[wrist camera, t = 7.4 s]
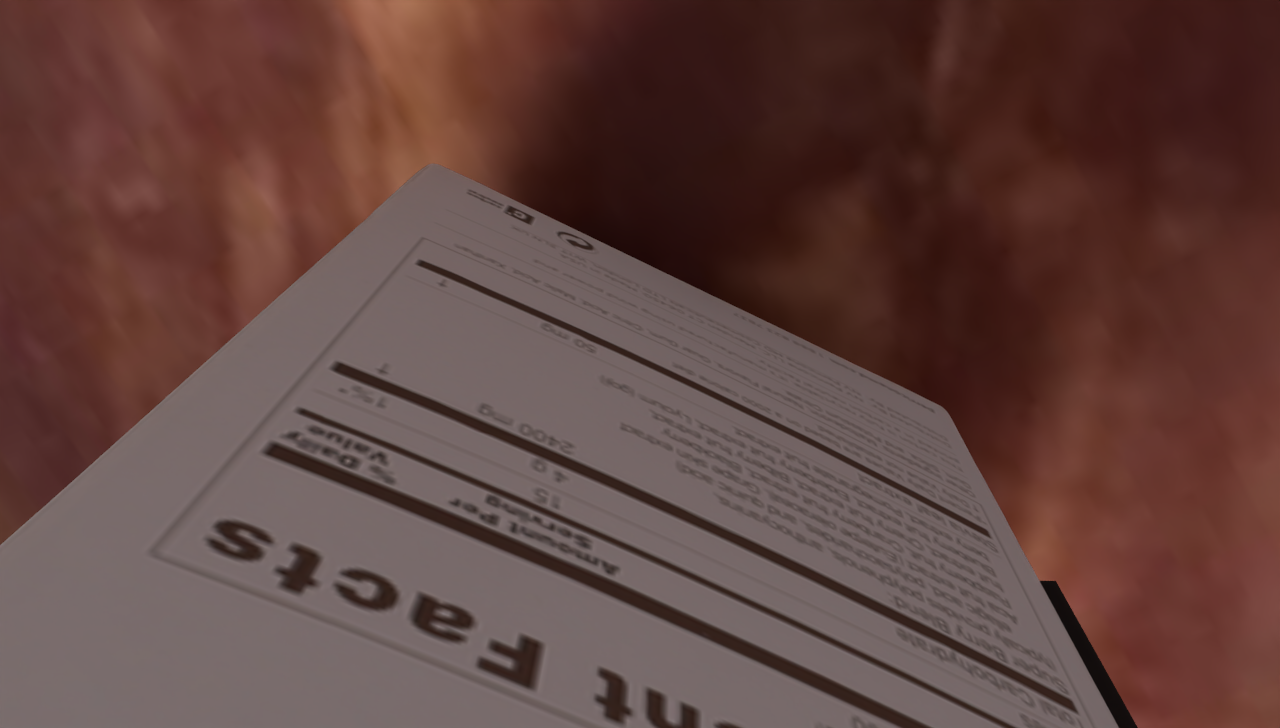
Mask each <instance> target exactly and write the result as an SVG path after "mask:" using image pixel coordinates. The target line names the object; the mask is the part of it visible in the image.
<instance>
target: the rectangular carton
mask: <svg viewBox="0 0 1280 728" xmlns="http://www.w3.org/2000/svg"><path fill="white" fill-rule="evenodd" d="M0 728H1119V727H1118V725H1117V723H1116V722H1115V720H1114V718H1113V716H1112V714H1111V712H1110V711H1109V709H1108V707H1107V705H1106V703H1105V701H1104V699H1103V698H1102V696H1101V694H1100V692H1099V690H1098V688H1097V687H1096V685H1095V683H1094V681H1093V679H1092V677H1091V676H1090V674H1089V672H1088V670H1087V668H1086V666H1085V664H1084V663H1083V661H1082V659H1081V657H1080V655H1079V653H1078V651H1077V650H1076V648H1075V646H1074V644H1073V642H1072V640H1071V638H1070V637H1069V635H1068V633H1067V631H1066V629H1065V627H1064V626H1063V624H1062V622H1061V620H1060V618H1059V616H1058V614H1057V613H1056V611H1055V609H1054V607H1053V605H1052V603H1051V601H1050V600H1049V598H1048V596H1047V594H1046V592H1045V590H1044V588H1043V587H1042V585H1041V583H1040V581H1039V579H1038V578H1037V576H1036V574H1035V572H1034V570H1033V569H1032V567H1031V565H1030V563H1029V561H1028V560H1027V558H1026V556H1025V554H1024V552H1023V551H1022V549H1021V547H1020V545H1019V543H1018V541H1017V539H1016V537H1015V536H1014V534H1013V532H1012V530H1011V528H1010V526H1009V524H1008V522H1007V521H1006V519H1005V517H1004V515H1003V513H1002V511H1001V509H1000V507H999V506H998V504H997V502H996V500H995V498H994V496H993V495H992V493H991V491H990V489H989V487H988V485H987V484H986V482H985V480H984V478H983V476H982V475H981V473H980V471H979V469H978V468H977V466H976V464H975V462H974V460H973V458H972V456H971V455H970V453H969V451H968V449H967V447H966V445H965V443H964V441H963V439H962V438H961V436H960V434H959V432H958V430H957V428H956V426H955V424H954V422H953V421H952V419H951V417H950V415H949V414H948V412H947V411H946V410H945V409H944V408H943V407H942V406H940V405H938V404H936V403H934V402H932V401H930V400H928V399H926V398H924V397H922V396H920V395H918V394H916V393H914V392H911V391H909V390H907V389H905V388H903V387H901V386H899V385H897V384H895V383H893V382H891V381H889V380H887V379H885V378H883V377H880V376H878V375H876V374H874V373H872V372H870V371H868V370H866V369H864V368H861V367H859V366H857V365H855V364H853V363H851V362H849V361H847V360H845V359H843V358H841V357H839V356H837V355H835V354H833V353H831V352H828V351H826V350H824V349H822V348H820V347H818V346H816V345H814V344H812V343H810V342H808V341H806V340H804V339H802V338H800V337H798V336H796V335H793V334H791V333H789V332H787V331H785V330H783V329H781V328H779V327H777V326H775V325H773V324H771V323H768V322H766V321H764V320H762V319H760V318H758V317H756V316H754V315H752V314H750V313H748V312H746V311H743V310H741V309H739V308H737V307H735V306H733V305H731V304H729V303H727V302H725V301H723V300H721V299H718V298H716V297H714V296H712V295H710V294H708V293H706V292H704V291H702V290H700V289H698V288H695V287H693V286H691V285H689V284H687V283H685V282H683V281H681V280H679V279H677V278H675V277H673V276H671V275H669V274H666V273H664V272H662V271H660V270H658V269H656V268H654V267H652V266H650V265H648V264H646V263H644V262H642V261H639V260H637V259H635V258H633V257H631V256H629V255H627V254H625V253H623V252H621V251H619V250H617V249H615V248H613V247H610V246H608V245H606V244H604V243H602V242H600V241H598V240H596V239H594V238H592V237H590V236H588V235H586V234H583V233H581V232H579V231H577V230H575V229H573V228H571V227H569V226H567V225H565V224H563V223H561V222H559V221H557V220H554V219H552V218H550V217H548V216H546V215H544V214H542V213H540V212H538V211H536V210H534V209H532V208H530V207H527V206H525V205H523V204H521V203H519V202H517V201H515V200H513V199H511V198H509V197H507V196H505V195H503V194H501V193H499V192H497V191H495V190H493V189H491V188H489V187H487V186H485V185H482V184H480V183H478V182H476V181H474V180H472V179H469V178H467V177H465V176H463V175H461V174H458V173H456V172H454V171H452V170H450V169H447V168H445V167H443V166H441V165H439V164H429V165H427V166H425V167H424V168H423V169H421V170H420V171H418V172H417V173H416V174H415V175H414V176H413V177H411V178H410V179H409V180H408V181H407V182H406V183H405V184H404V185H402V186H401V187H400V188H399V189H398V190H397V191H396V192H395V193H394V194H392V195H391V196H390V197H389V198H388V199H387V200H386V201H385V202H384V203H383V204H382V205H380V206H379V207H378V208H377V209H376V210H375V211H374V212H373V213H372V214H371V215H370V216H369V217H368V218H367V219H366V220H365V221H363V222H362V223H361V224H360V225H359V226H358V227H357V228H356V229H354V230H353V231H352V232H351V233H350V234H349V235H348V236H347V237H345V238H344V239H343V240H342V241H341V242H340V243H339V244H338V245H336V246H335V247H334V248H333V249H332V250H331V251H330V252H328V253H327V254H326V255H325V256H324V257H323V258H322V259H321V260H319V261H318V262H317V263H316V264H315V265H314V266H313V267H312V268H310V269H309V270H308V271H307V272H306V273H305V274H304V275H303V276H301V277H300V278H299V279H298V280H297V281H296V282H295V283H294V284H292V285H291V286H290V287H289V288H288V289H287V290H286V291H285V292H283V293H282V294H281V295H280V296H279V297H278V298H277V299H276V300H274V301H273V302H272V303H271V304H270V305H269V306H268V307H267V308H265V309H264V310H263V311H262V312H261V313H260V314H259V315H258V316H257V317H255V318H254V319H253V320H252V321H251V322H250V323H249V324H248V325H247V326H245V327H244V328H243V329H242V330H241V331H240V332H239V333H238V334H236V335H235V336H234V337H233V338H232V339H231V340H230V341H229V342H228V343H226V344H225V345H224V346H223V347H222V348H221V349H220V350H219V351H217V352H216V353H215V354H214V355H213V356H212V357H211V358H210V359H209V360H207V361H206V362H205V363H204V364H203V365H202V366H201V367H200V368H198V369H197V370H196V371H195V372H194V373H193V374H192V375H191V376H190V377H188V378H187V379H186V380H185V381H184V382H183V383H182V384H181V385H180V386H178V387H177V388H176V389H175V390H174V391H173V392H172V393H171V394H169V395H168V396H167V397H166V398H165V399H164V400H163V401H162V402H161V403H159V404H158V405H157V406H156V407H155V408H154V409H153V410H152V411H150V412H149V413H148V414H147V415H146V416H145V417H144V418H143V419H142V420H140V421H139V422H138V423H137V424H136V425H135V426H134V427H133V428H131V429H130V430H129V431H128V432H127V433H126V434H125V435H124V436H123V437H121V438H120V439H119V440H118V441H117V442H116V443H115V444H114V445H113V446H111V447H110V448H109V449H108V450H107V451H106V452H105V453H104V454H102V455H101V456H100V457H99V458H98V459H97V460H96V461H95V462H94V463H92V464H91V465H90V466H89V467H88V468H87V469H86V470H85V471H83V472H82V473H81V474H80V475H79V476H78V477H77V478H76V479H75V480H73V481H72V482H71V483H70V484H69V485H68V486H67V487H66V488H64V489H63V490H62V491H61V492H60V493H59V494H58V495H57V496H56V497H54V498H53V499H52V500H51V501H50V502H49V503H48V504H47V505H45V506H44V507H43V508H42V509H41V510H40V511H39V512H37V513H36V514H35V515H34V516H33V517H32V518H31V519H29V520H28V521H27V522H26V523H25V524H24V525H23V526H22V527H20V528H19V529H18V530H17V531H16V532H15V533H14V534H12V535H11V536H10V537H9V538H8V539H7V540H6V541H4V542H3V543H2V544H1V545H0Z"/></svg>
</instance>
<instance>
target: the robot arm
mask: <svg viewBox="0 0 1280 728" xmlns="http://www.w3.org/2000/svg"><path fill="white" fill-rule="evenodd" d="M1040 583H1041V585H1042V587H1043V588H1044V590H1045V592H1046V594H1047V596H1048V598H1049V600H1050V601H1051V603H1052V605H1053V607H1054V609H1055V611H1056V613H1057V614H1058V616H1059V618H1060V620H1061V622H1062V624H1063V626H1064V627H1065V629H1066V631H1067V633H1068V635H1069V637H1070V638H1071V640H1072V642H1073V644H1074V646H1075V648H1076V650H1077V651H1078V653H1079V655H1080V657H1081V659H1082V661H1083V663H1084V664H1085V666H1086V668H1087V670H1088V672H1089V674H1090V676H1091V677H1092V679H1093V681H1094V683H1095V685H1096V687H1097V688H1098V690H1099V692H1100V694H1101V696H1102V698H1103V699H1104V701H1105V703H1106V705H1107V707H1108V709H1109V711H1110V712H1111V714H1112V716H1113V718H1114V720H1115V722H1116V723H1117V725H1118V727H1119V728H1137V726H1136V724H1135V722H1134V720H1133V719H1132V717H1131V715H1130V713H1129V711H1128V710H1127V708H1126V706H1125V704H1124V702H1123V701H1122V699H1121V697H1120V695H1119V694H1118V692H1117V690H1116V688H1115V686H1114V685H1113V683H1112V681H1111V679H1110V677H1109V676H1108V674H1107V672H1106V670H1105V668H1104V667H1103V665H1102V663H1101V661H1100V660H1099V658H1098V656H1097V654H1096V652H1095V651H1094V649H1093V647H1092V645H1091V643H1090V642H1089V640H1088V638H1087V636H1086V634H1085V633H1084V631H1083V629H1082V627H1081V626H1080V624H1079V622H1078V620H1077V618H1076V617H1075V615H1074V613H1073V611H1072V609H1071V608H1070V606H1069V604H1068V602H1067V600H1066V599H1065V597H1064V595H1063V593H1062V592H1061V590H1060V588H1059V586H1058V584H1057V583H1056V581H1040Z"/></svg>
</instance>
